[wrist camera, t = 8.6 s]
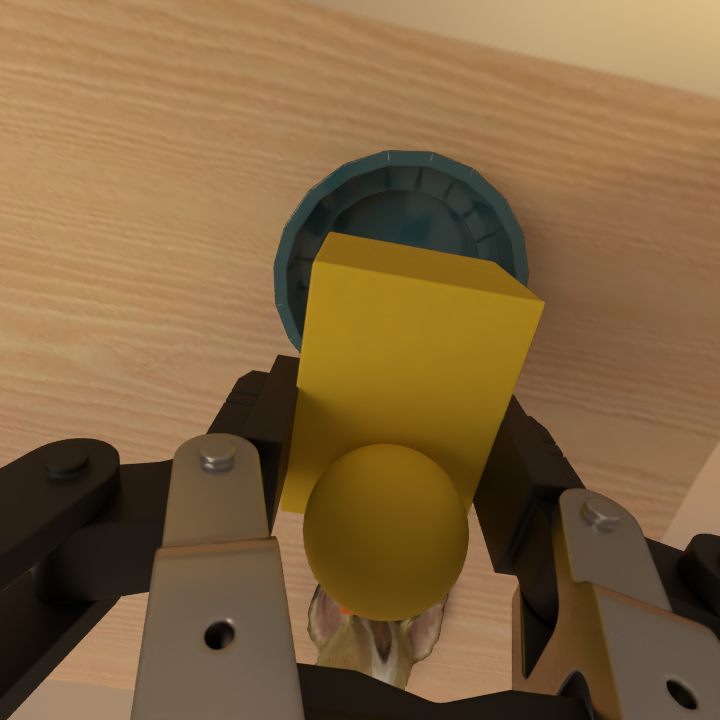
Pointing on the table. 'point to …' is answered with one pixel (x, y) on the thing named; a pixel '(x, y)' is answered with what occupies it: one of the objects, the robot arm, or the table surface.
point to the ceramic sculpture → (372, 639)
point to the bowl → (396, 220)
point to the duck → (399, 415)
